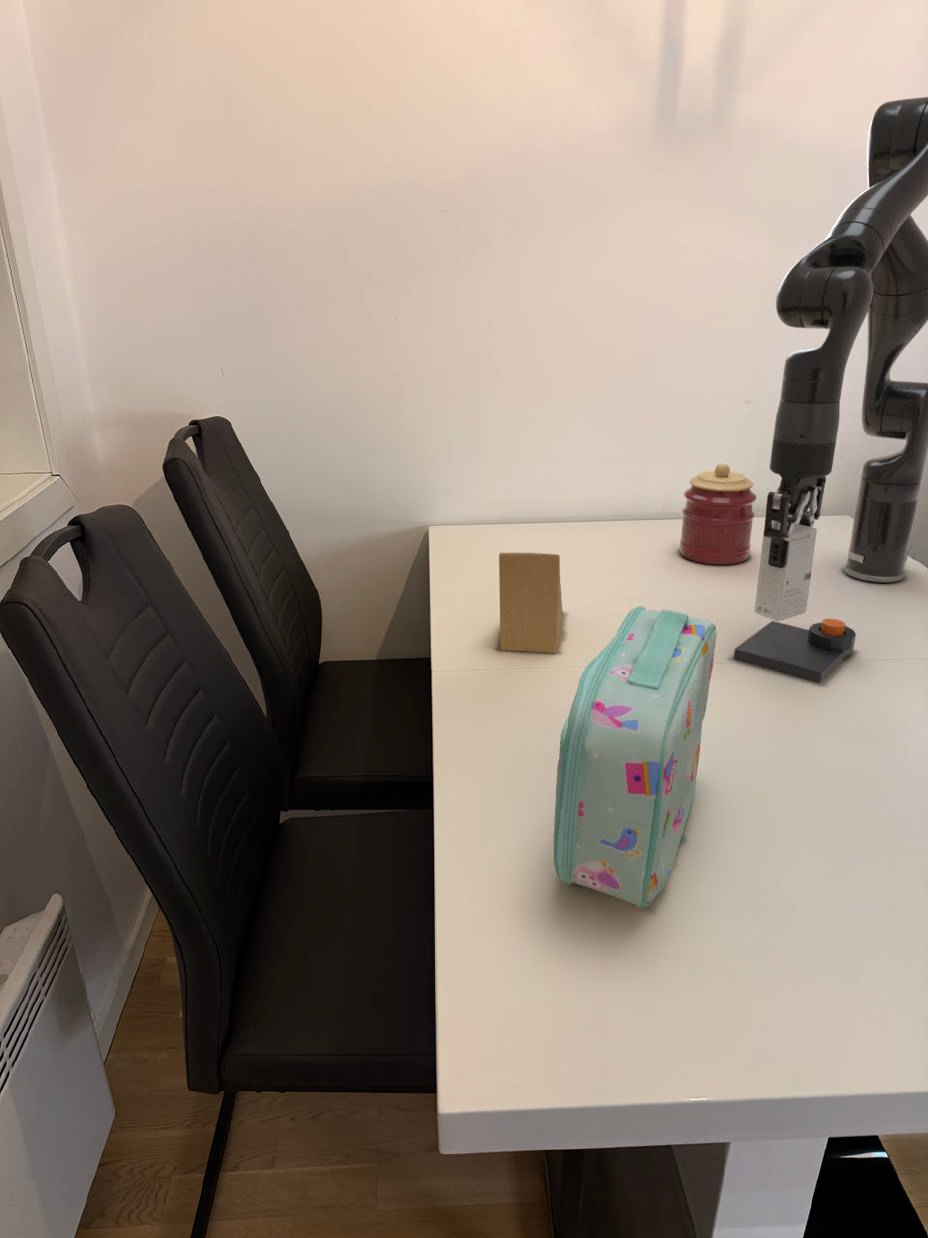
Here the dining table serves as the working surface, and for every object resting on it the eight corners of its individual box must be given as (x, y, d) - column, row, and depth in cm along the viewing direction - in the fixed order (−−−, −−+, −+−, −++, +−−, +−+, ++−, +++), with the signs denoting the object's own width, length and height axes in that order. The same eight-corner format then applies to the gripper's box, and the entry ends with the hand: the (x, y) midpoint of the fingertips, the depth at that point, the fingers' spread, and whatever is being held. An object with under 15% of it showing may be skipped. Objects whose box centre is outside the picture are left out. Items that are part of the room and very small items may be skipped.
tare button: (825, 627, 120) (826, 616, 120) (846, 632, 118) (848, 622, 118) (817, 633, 118) (819, 623, 117) (839, 638, 116) (841, 628, 116)
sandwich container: (564, 613, 135) (567, 523, 129) (557, 653, 121) (560, 554, 115) (511, 610, 136) (512, 521, 130) (498, 650, 122) (498, 552, 117)
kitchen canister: (757, 550, 162) (768, 460, 156) (738, 570, 152) (749, 474, 146) (691, 541, 169) (699, 453, 162) (669, 559, 159) (676, 466, 152)
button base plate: (771, 630, 127) (774, 608, 126) (857, 651, 120) (861, 629, 118) (733, 659, 118) (736, 637, 117) (823, 685, 110) (827, 661, 109)
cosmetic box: (779, 623, 113) (790, 536, 108) (751, 612, 116) (761, 528, 112) (808, 612, 116) (820, 528, 111) (780, 602, 119) (791, 520, 115)
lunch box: (612, 752, 96) (622, 576, 88) (704, 770, 92) (724, 588, 84) (540, 904, 73) (545, 686, 65) (659, 936, 69) (680, 709, 61)
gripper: (813, 448, 99) (794, 579, 106) (854, 430, 109) (834, 551, 116) (752, 441, 104) (738, 567, 110) (797, 424, 114) (781, 541, 120)
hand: (787, 559), depth 113 cm, fingers closed on cosmetic box, 6 cm apart
